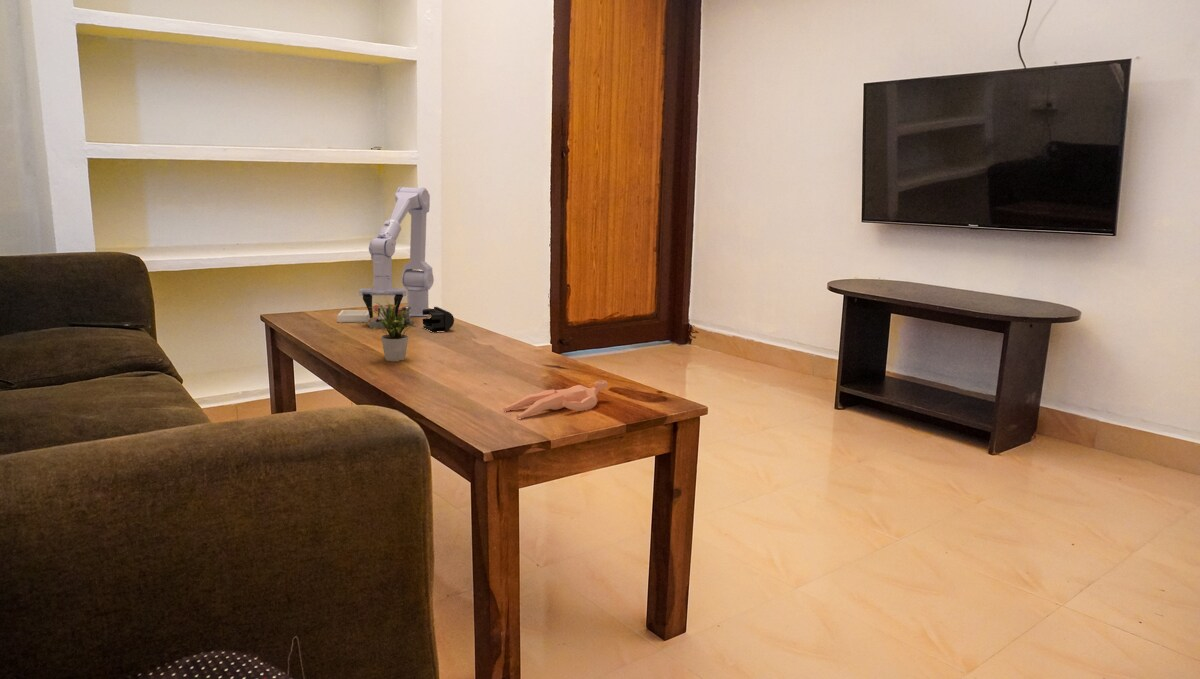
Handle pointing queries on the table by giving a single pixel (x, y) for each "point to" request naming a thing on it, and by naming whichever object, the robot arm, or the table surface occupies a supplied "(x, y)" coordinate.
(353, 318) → the tray
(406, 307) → the keeper post
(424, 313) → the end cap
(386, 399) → the table surface
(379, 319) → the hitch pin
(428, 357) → the table surface
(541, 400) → the male figurine
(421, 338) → the table surface
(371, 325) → the grey flat square ring
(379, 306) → the bar
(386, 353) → the house plant
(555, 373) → the table surface
